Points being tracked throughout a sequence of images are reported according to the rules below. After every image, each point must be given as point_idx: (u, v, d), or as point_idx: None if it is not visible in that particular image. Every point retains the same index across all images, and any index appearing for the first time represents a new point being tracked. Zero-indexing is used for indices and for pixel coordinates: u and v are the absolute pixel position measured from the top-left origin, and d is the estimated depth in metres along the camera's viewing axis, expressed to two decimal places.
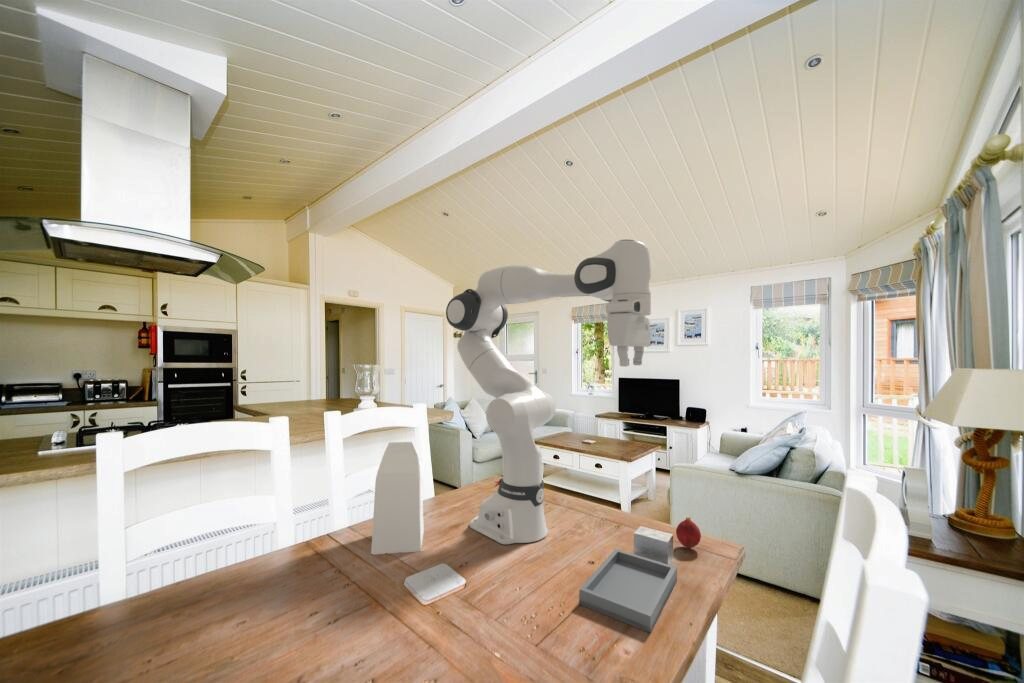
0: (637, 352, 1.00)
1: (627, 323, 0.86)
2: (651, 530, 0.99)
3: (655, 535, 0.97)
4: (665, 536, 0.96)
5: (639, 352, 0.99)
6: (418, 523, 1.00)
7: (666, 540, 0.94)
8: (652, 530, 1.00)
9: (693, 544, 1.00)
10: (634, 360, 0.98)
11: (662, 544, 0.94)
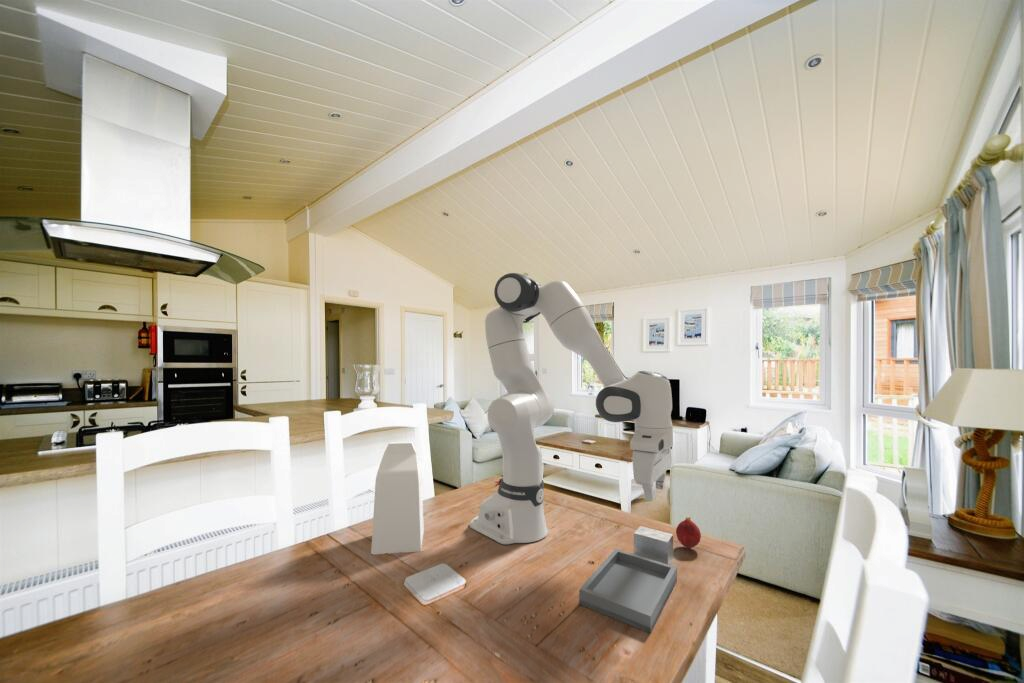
0: None
1: (653, 465, 0.89)
2: (651, 530, 0.99)
3: (655, 535, 0.97)
4: (665, 536, 0.96)
5: (661, 474, 1.02)
6: (418, 523, 1.00)
7: (666, 540, 0.94)
8: (652, 530, 1.00)
9: (693, 544, 1.00)
10: (657, 483, 1.01)
11: (662, 544, 0.94)
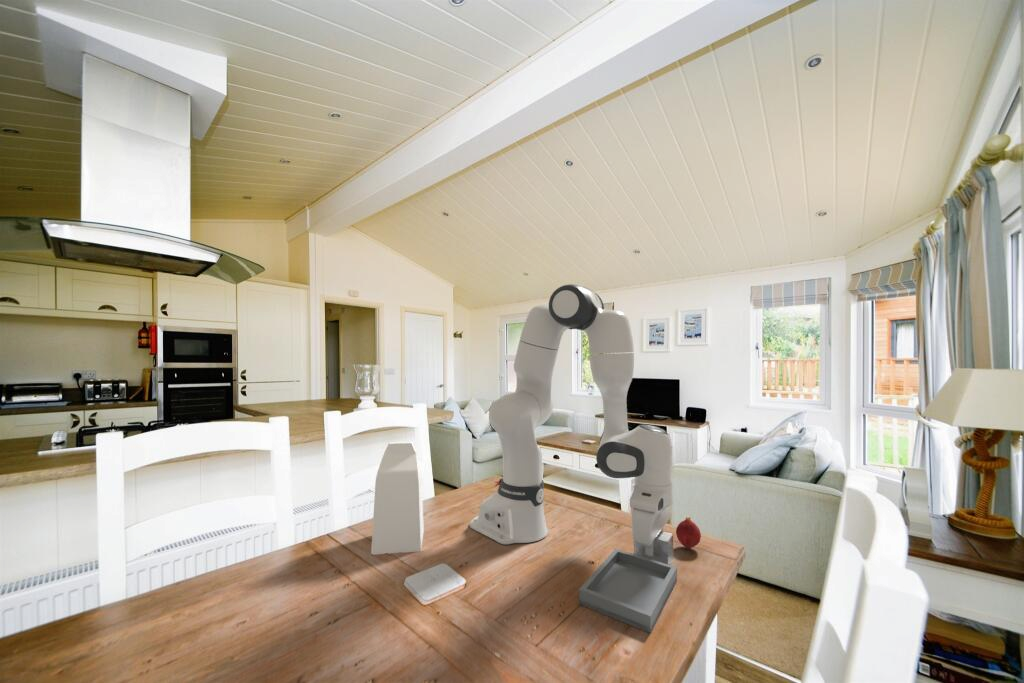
0: None
1: (652, 526, 0.89)
2: None
3: None
4: (665, 535, 0.96)
5: None
6: (418, 523, 1.00)
7: (666, 540, 0.94)
8: None
9: (693, 544, 1.00)
10: None
11: (663, 543, 0.94)
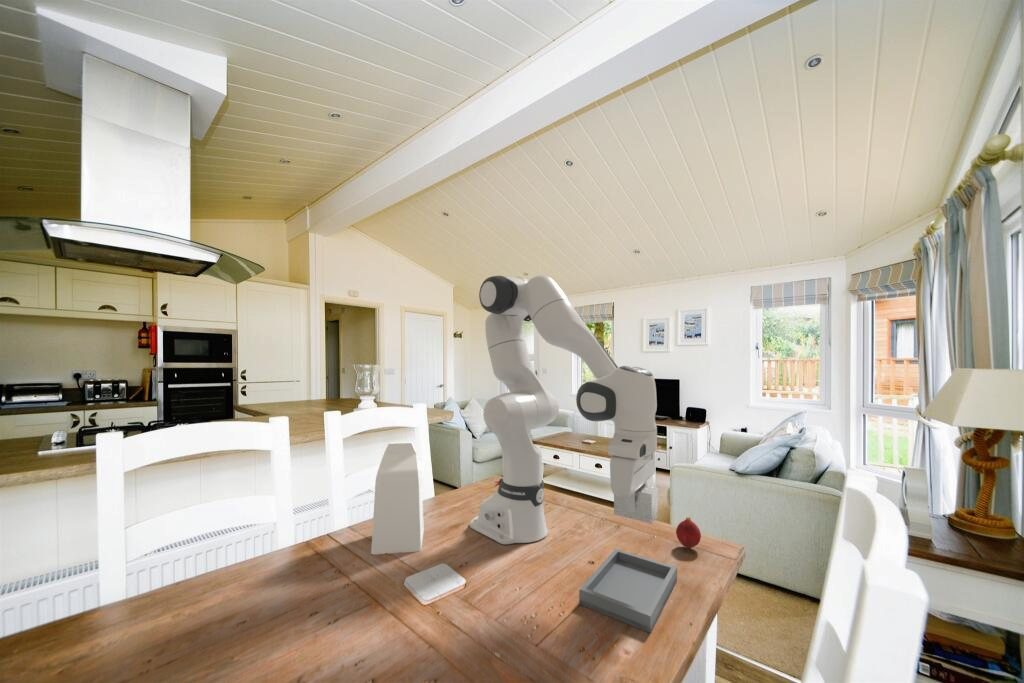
0: None
1: (633, 473, 0.78)
2: None
3: None
4: (649, 489, 0.85)
5: None
6: (418, 523, 1.00)
7: (650, 492, 0.83)
8: None
9: (693, 544, 1.00)
10: None
11: (646, 497, 0.83)
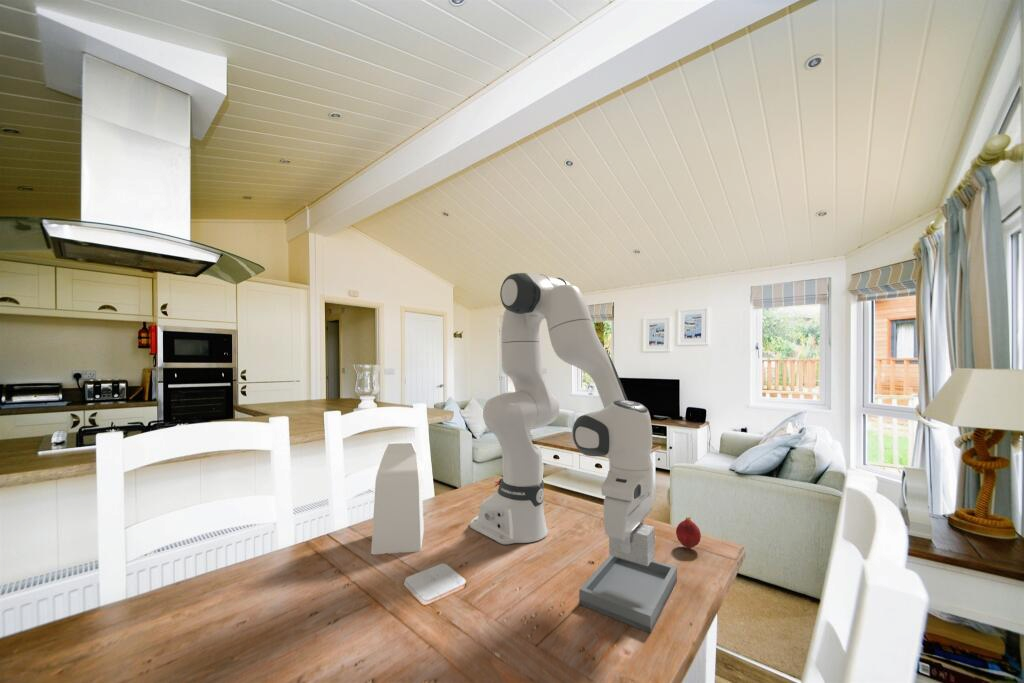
0: None
1: (627, 517, 0.75)
2: None
3: None
4: (645, 529, 0.82)
5: None
6: (418, 523, 1.00)
7: (646, 534, 0.80)
8: None
9: (693, 544, 1.00)
10: None
11: (641, 538, 0.80)
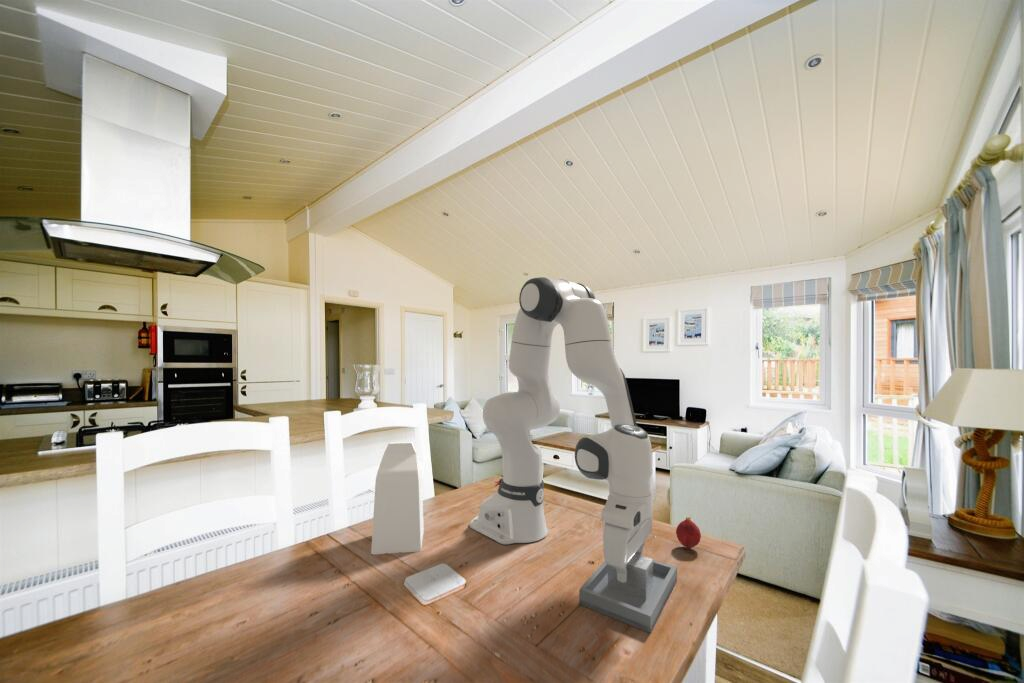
0: None
1: (626, 545, 0.75)
2: None
3: (633, 560, 0.83)
4: (644, 561, 0.82)
5: None
6: (418, 523, 1.00)
7: (644, 567, 0.80)
8: None
9: (693, 544, 1.00)
10: None
11: (640, 572, 0.80)
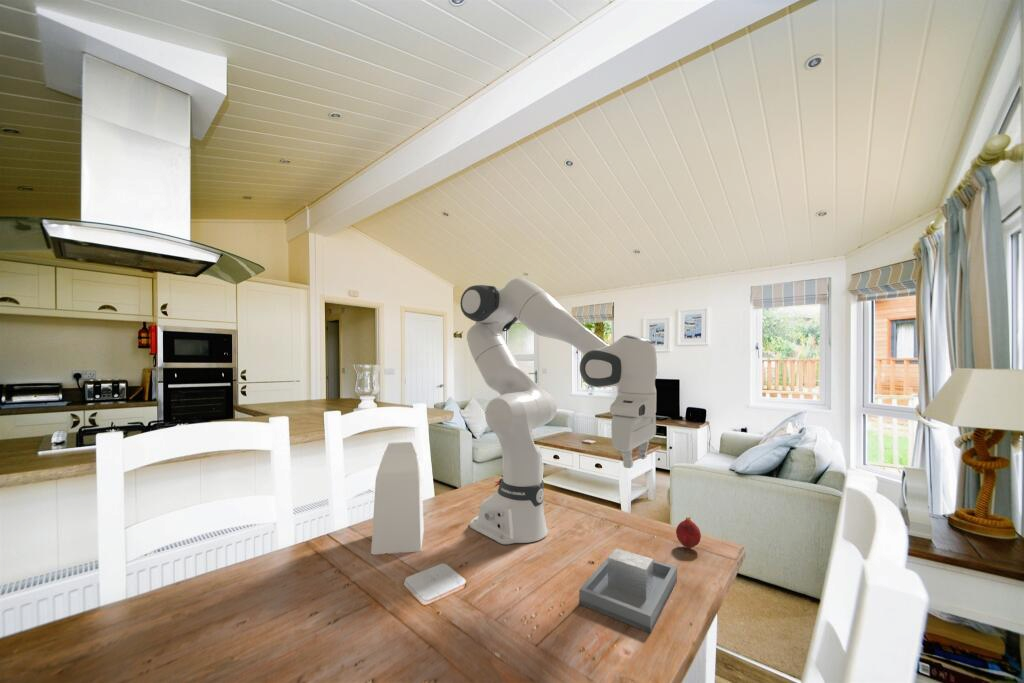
0: (642, 444, 0.99)
1: (632, 430, 0.86)
2: (628, 554, 0.86)
3: (633, 560, 0.83)
4: (644, 561, 0.82)
5: (644, 444, 0.99)
6: (418, 523, 1.00)
7: (644, 567, 0.80)
8: (629, 553, 0.86)
9: (693, 544, 1.00)
10: (639, 453, 0.98)
11: (640, 572, 0.80)
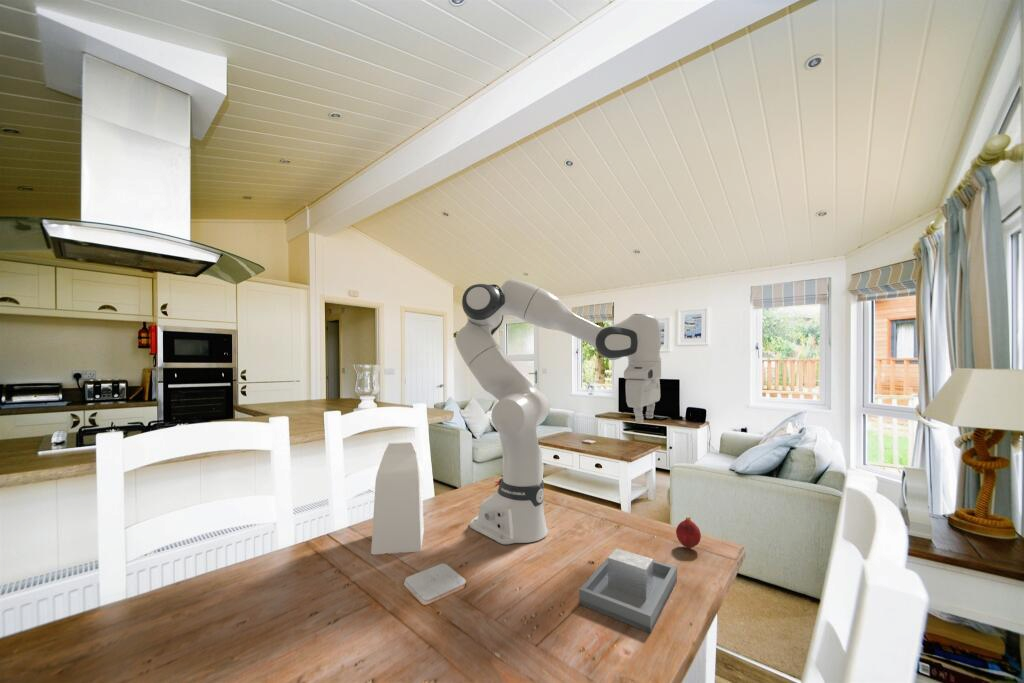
0: (649, 406, 1.17)
1: (643, 389, 1.04)
2: (628, 554, 0.86)
3: (633, 560, 0.83)
4: (644, 561, 0.82)
5: (650, 406, 1.17)
6: (418, 523, 1.00)
7: (644, 567, 0.80)
8: (629, 553, 0.86)
9: (693, 544, 1.00)
10: (647, 413, 1.16)
11: (640, 572, 0.80)
